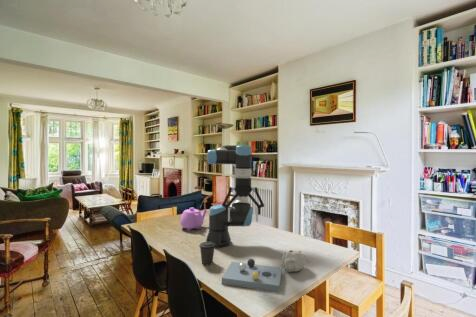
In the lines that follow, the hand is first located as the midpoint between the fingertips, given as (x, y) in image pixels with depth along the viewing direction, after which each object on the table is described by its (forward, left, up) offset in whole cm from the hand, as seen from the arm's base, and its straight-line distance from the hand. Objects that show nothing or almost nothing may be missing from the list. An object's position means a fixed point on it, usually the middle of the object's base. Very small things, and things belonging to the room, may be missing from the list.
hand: (242, 221), depth 118 cm
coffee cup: (-18, 0, -23) cm, 29 cm away
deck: (+7, -9, -22) cm, 25 cm away
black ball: (+5, -4, -18) cm, 19 cm away
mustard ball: (+9, -15, -18) cm, 25 cm away
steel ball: (+2, -9, -18) cm, 20 cm away
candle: (+24, +5, -23) cm, 33 cm away
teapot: (-47, +51, -23) cm, 73 cm away
